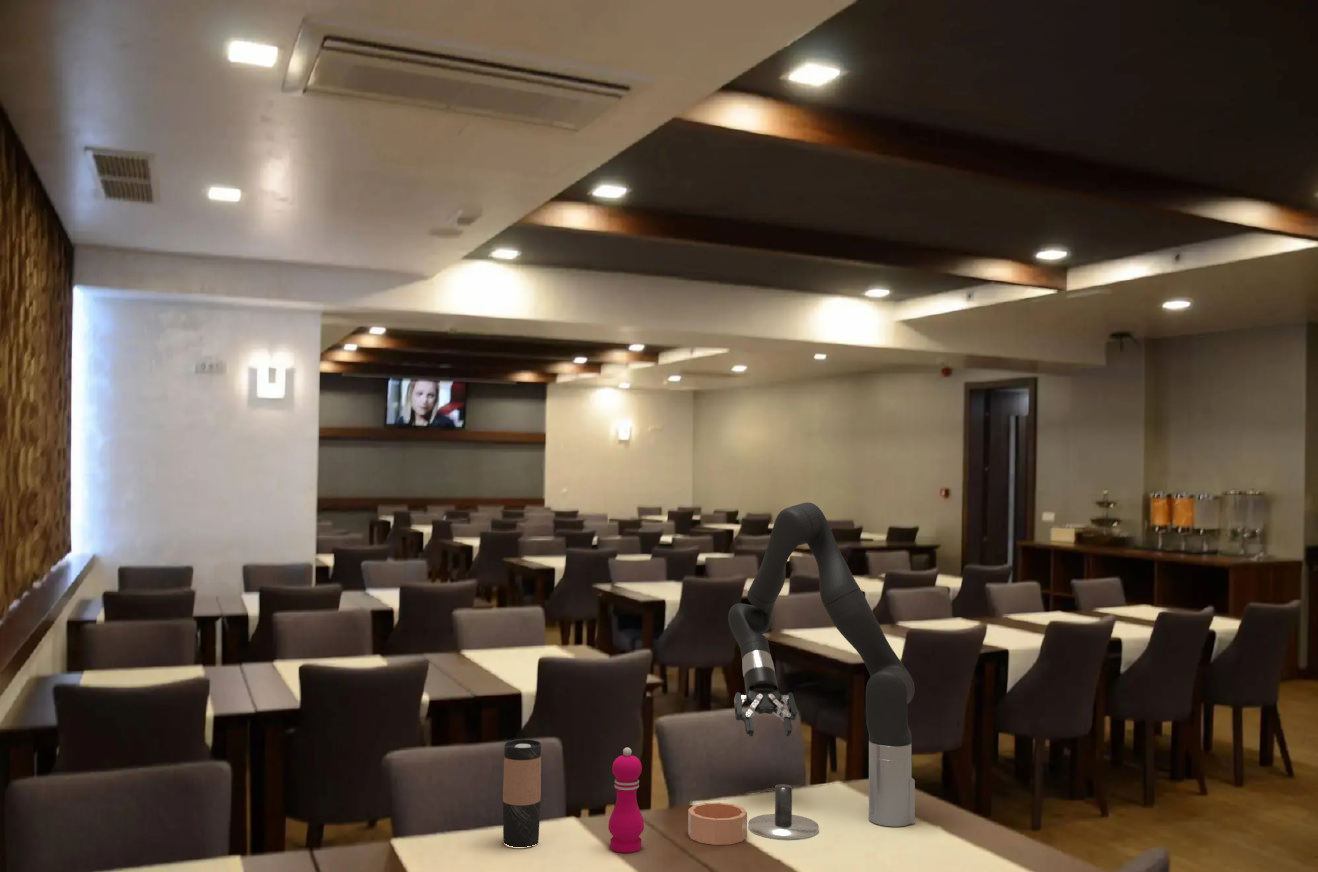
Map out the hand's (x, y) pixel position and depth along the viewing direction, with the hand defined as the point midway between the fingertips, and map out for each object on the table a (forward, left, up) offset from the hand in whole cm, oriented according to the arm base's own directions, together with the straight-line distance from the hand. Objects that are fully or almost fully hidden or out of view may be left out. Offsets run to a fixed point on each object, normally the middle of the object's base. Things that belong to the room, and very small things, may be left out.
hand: (770, 734), depth 239 cm
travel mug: (+56, +16, -18) cm, 61 cm away
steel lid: (0, +12, -18) cm, 21 cm away
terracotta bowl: (+15, +15, -17) cm, 27 cm away
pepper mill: (+35, +21, -18) cm, 44 cm away
